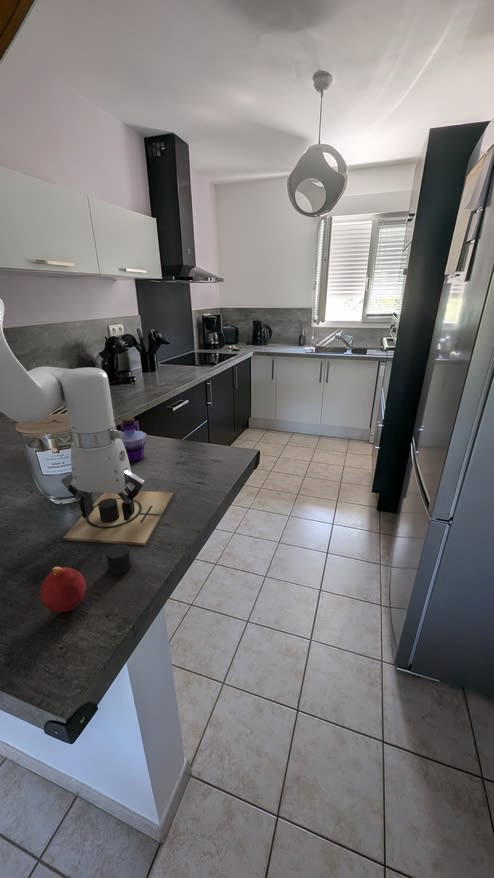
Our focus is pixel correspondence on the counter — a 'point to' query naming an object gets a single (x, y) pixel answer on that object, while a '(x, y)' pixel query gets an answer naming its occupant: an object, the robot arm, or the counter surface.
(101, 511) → the dot
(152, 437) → the counter surface
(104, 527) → the board
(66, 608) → the onion
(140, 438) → the potion bottle
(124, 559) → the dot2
